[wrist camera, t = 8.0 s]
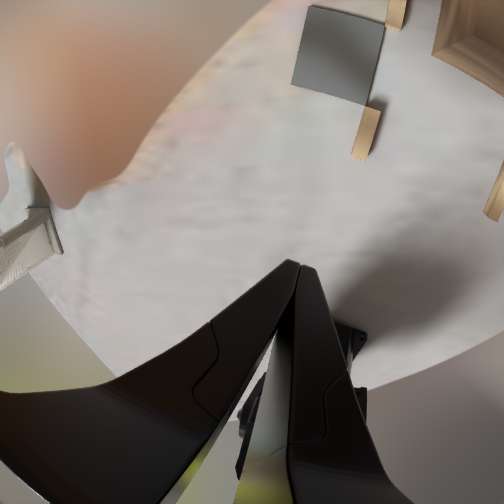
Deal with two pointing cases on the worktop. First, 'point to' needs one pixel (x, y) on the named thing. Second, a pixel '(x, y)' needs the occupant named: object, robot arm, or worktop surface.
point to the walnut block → (473, 39)
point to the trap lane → (355, 71)
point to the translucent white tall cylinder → (27, 245)
